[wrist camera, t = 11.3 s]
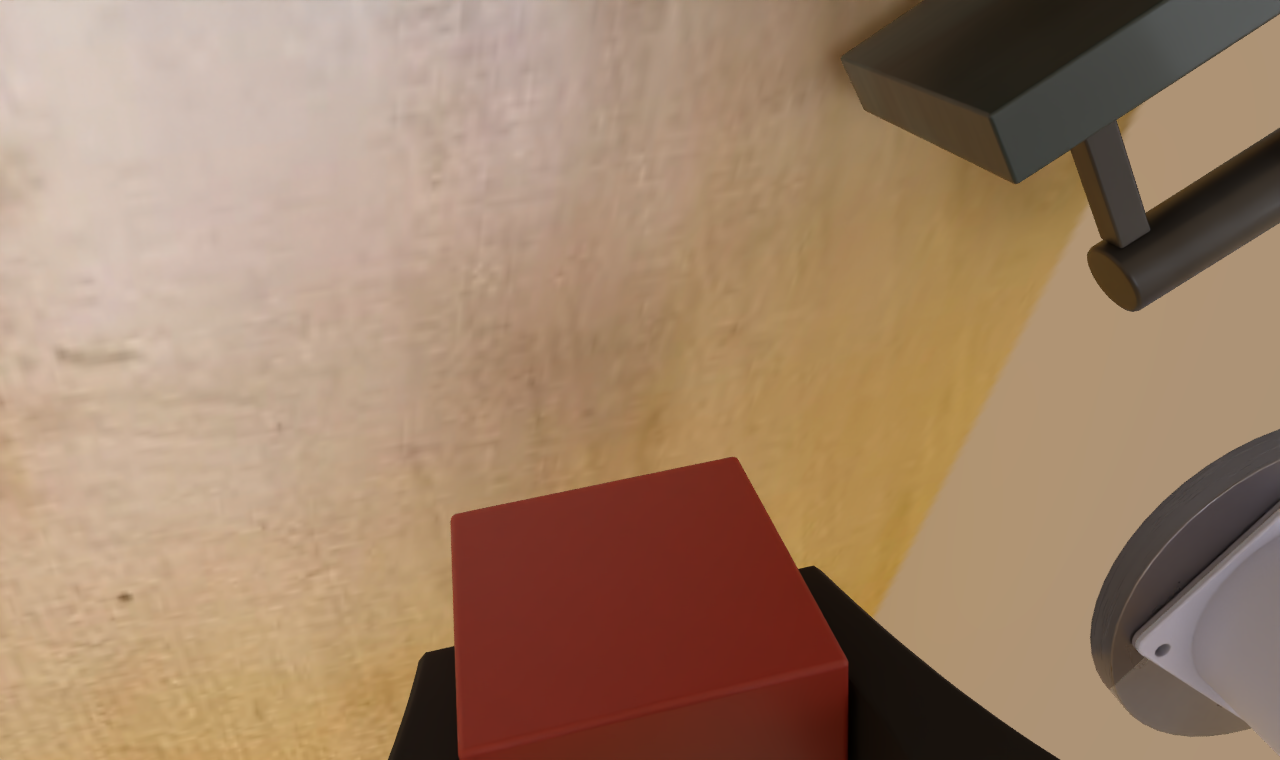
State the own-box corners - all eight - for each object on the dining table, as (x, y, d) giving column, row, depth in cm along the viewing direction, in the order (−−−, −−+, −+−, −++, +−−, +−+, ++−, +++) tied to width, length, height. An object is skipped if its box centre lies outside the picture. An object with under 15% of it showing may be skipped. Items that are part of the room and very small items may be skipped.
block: (737, 452, 13) (851, 660, 9) (750, 660, 15) (850, 897, 11) (448, 512, 12) (456, 755, 9) (502, 719, 14) (526, 985, 11)
